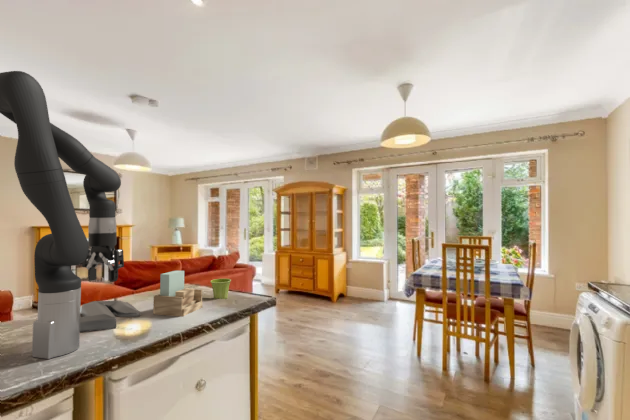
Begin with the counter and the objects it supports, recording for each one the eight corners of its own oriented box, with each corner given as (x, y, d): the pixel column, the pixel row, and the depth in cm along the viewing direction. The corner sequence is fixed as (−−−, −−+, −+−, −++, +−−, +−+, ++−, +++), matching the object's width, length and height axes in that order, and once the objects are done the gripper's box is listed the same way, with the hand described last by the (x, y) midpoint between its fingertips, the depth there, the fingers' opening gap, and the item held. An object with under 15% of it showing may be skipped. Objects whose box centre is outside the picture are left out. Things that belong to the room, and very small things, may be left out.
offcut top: (183, 298, 116) (183, 292, 116) (175, 297, 117) (175, 291, 117) (194, 295, 122) (194, 288, 122) (186, 294, 123) (186, 288, 123)
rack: (182, 319, 111) (183, 297, 112) (153, 316, 114) (153, 295, 115) (203, 309, 124) (203, 289, 124) (176, 307, 127) (176, 288, 127)
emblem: (158, 299, 121) (92, 322, 94) (158, 313, 121) (91, 339, 94) (103, 295, 127) (26, 315, 100) (102, 308, 127) (25, 331, 100)
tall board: (168, 313, 115) (169, 274, 116) (159, 312, 116) (160, 274, 117) (183, 307, 124) (184, 270, 125) (175, 306, 125) (176, 270, 125)
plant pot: (233, 299, 139) (233, 281, 140) (212, 302, 135) (212, 283, 135) (228, 295, 147) (228, 277, 148) (208, 297, 143) (208, 279, 143)
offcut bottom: (179, 314, 113) (179, 306, 114) (170, 314, 114) (170, 306, 115) (196, 307, 123) (196, 300, 123) (187, 306, 124) (187, 299, 124)
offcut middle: (181, 306, 114) (181, 299, 114) (171, 305, 115) (171, 299, 115) (193, 301, 122) (193, 294, 122) (184, 300, 123) (184, 294, 123)
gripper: (74, 232, 96) (74, 282, 95) (110, 232, 92) (110, 284, 92) (96, 230, 103) (96, 277, 103) (130, 230, 100) (130, 279, 100)
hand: (103, 280), depth 98 cm, fingers open, 8 cm apart
